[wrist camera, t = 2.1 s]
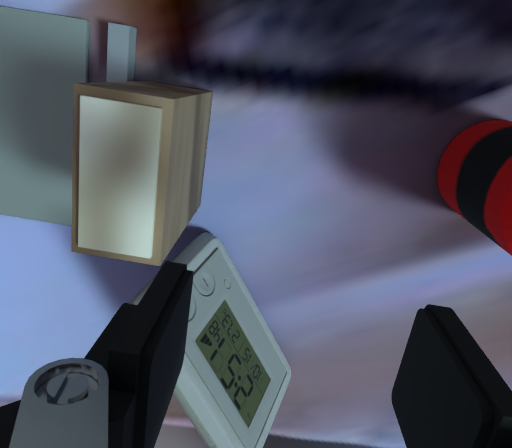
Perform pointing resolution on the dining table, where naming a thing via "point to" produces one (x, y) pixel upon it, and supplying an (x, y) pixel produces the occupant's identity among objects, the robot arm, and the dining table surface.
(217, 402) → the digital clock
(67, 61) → the mat
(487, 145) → the soda can
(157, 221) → the block
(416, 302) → the dining table surface
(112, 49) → the rail
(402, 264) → the dining table surface
